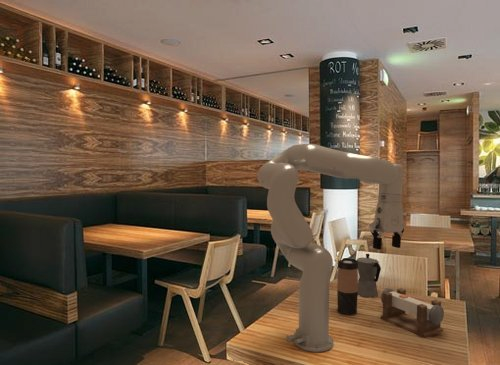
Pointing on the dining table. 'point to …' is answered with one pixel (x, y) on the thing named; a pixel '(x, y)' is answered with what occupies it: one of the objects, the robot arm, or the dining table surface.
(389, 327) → the dining table surface
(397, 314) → the walnut rack
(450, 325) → the dining table surface
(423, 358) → the dining table surface
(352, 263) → the travel mug
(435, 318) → the white bar grey caps
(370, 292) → the coffeepot
